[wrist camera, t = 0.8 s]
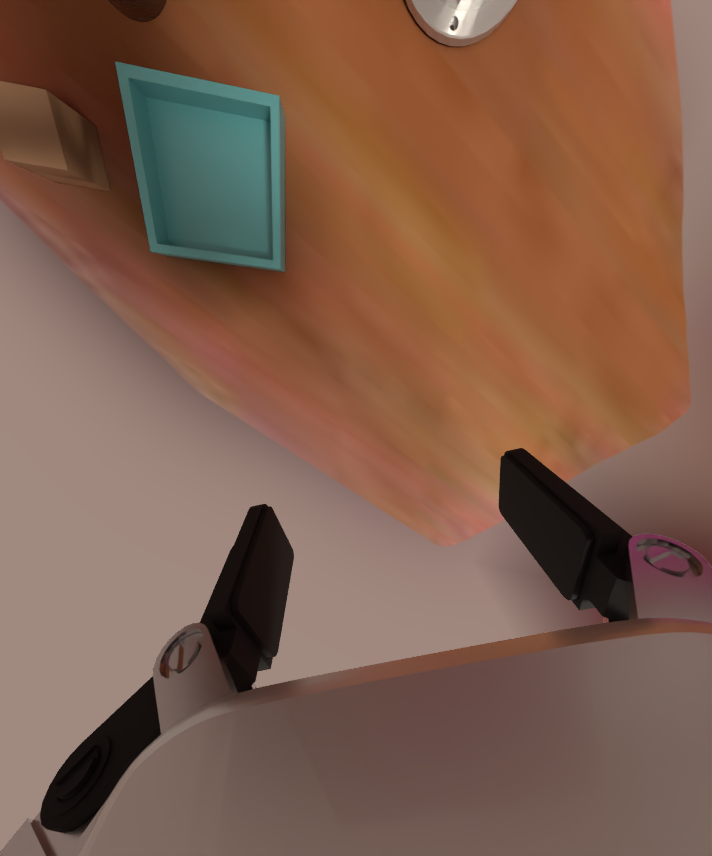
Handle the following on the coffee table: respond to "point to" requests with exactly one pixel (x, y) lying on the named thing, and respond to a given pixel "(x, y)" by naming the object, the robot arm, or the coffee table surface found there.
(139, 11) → the metal tin
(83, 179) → the walnut block
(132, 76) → the teal tray
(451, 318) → the coffee table surface
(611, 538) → the robot arm
